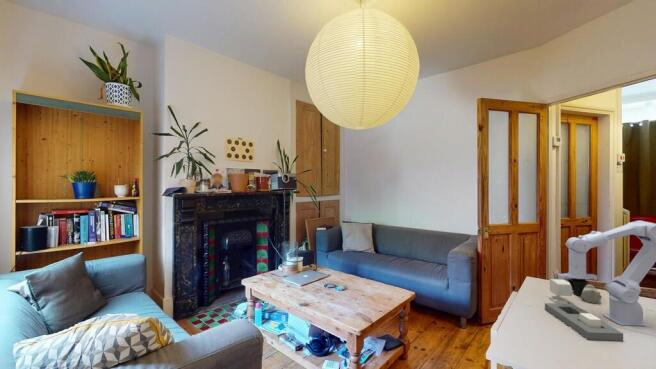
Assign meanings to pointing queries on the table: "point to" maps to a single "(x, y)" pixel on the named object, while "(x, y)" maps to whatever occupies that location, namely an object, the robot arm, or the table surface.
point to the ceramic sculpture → (591, 294)
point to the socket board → (572, 319)
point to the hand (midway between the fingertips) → (577, 295)
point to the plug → (590, 320)
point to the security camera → (560, 290)
